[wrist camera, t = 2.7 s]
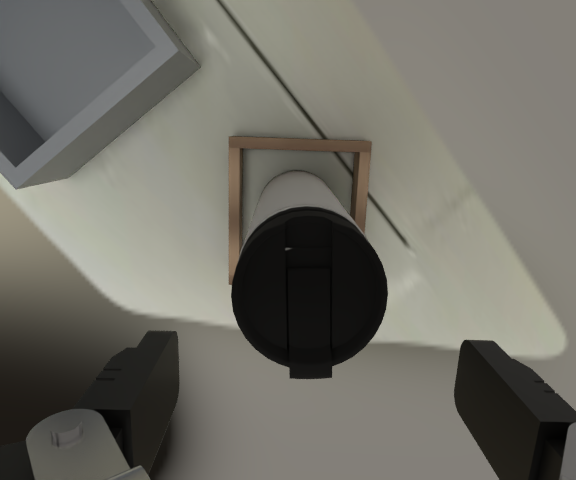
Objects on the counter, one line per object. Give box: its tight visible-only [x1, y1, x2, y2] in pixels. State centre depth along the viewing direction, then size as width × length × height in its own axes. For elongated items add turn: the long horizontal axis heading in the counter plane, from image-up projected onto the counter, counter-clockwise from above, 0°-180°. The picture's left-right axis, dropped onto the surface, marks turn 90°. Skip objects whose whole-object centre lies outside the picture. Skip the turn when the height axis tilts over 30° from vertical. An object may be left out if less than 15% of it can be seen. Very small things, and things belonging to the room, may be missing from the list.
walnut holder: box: [229, 136, 372, 285], centre depth 34 cm, size 12×11×2 cm
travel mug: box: [231, 170, 388, 379], centre depth 26 cm, size 6×7×20 cm
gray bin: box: [0, 0, 200, 189], centre depth 29 cm, size 14×14×7 cm
